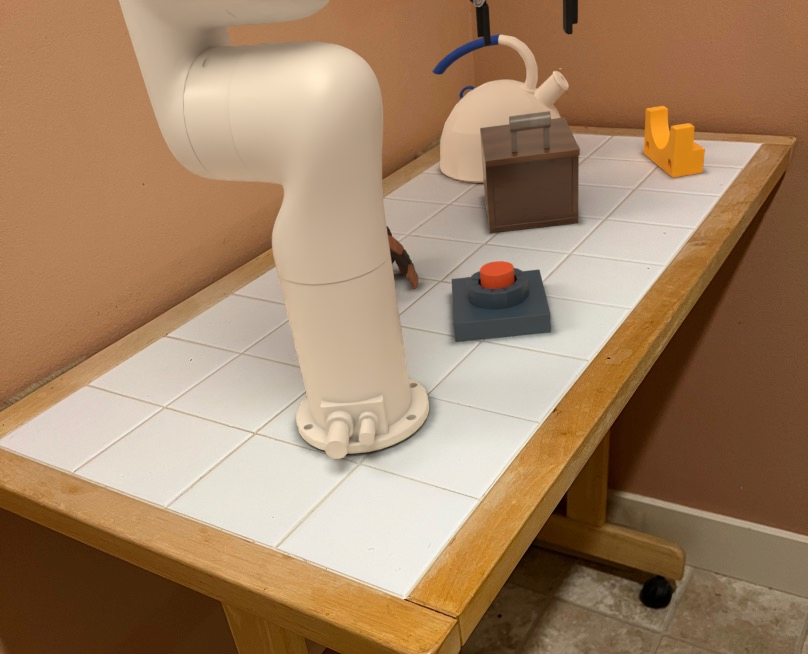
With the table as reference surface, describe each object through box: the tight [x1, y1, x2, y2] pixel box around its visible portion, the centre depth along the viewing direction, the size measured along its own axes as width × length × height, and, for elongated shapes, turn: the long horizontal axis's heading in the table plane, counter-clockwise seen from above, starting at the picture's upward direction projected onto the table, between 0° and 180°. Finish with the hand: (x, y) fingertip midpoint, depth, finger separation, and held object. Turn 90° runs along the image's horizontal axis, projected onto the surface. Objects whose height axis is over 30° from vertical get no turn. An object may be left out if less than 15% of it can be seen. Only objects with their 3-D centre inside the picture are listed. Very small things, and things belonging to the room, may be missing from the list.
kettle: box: [432, 33, 570, 184], centre depth 124 cm, size 20×21×18 cm
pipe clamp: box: [643, 105, 706, 179], centre depth 117 cm, size 12×4×6 cm, turn 6°
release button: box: [479, 260, 515, 289], centre depth 87 cm, size 4×4×2 cm
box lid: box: [480, 111, 581, 167], centre depth 105 cm, size 14×12×5 cm
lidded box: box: [481, 141, 580, 234], centre depth 109 cm, size 14×12×9 cm
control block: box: [451, 267, 552, 343], centre depth 88 cm, size 11×10×4 cm
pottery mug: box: [386, 225, 419, 290], centre depth 98 cm, size 12×9×8 cm
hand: (527, 37), depth 94 cm, fingers open, 9 cm apart
